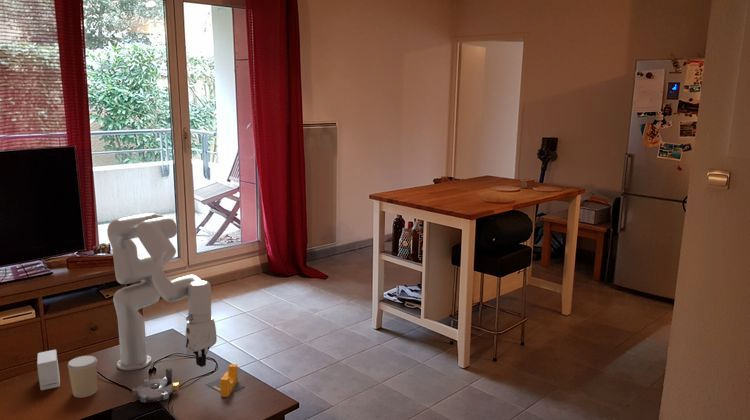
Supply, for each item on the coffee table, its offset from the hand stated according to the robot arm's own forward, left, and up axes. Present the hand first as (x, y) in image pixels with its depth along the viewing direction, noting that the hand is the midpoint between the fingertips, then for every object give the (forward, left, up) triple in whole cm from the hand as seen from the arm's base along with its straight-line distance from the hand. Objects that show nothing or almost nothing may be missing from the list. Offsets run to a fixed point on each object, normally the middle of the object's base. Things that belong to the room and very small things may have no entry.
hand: (201, 365), depth 205 cm
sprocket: (-12, -11, -10) cm, 19 cm away
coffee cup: (-33, -26, -12) cm, 44 cm away
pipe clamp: (+3, +8, -11) cm, 14 cm away
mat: (+1, +9, -11) cm, 14 cm away
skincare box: (-50, -31, -12) cm, 60 cm away
